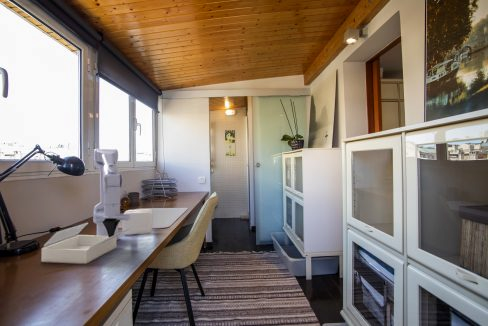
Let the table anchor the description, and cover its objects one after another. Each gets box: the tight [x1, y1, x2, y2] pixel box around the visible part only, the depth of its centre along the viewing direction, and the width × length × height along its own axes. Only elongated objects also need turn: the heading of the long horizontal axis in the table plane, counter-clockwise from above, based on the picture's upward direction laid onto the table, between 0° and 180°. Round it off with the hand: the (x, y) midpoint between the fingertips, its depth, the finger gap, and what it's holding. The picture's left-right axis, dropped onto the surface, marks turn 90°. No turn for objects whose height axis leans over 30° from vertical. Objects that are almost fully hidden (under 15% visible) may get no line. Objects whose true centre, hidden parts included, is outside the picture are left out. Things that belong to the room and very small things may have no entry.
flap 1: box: [43, 222, 89, 247], centre depth 101 cm, size 16×7×1 cm
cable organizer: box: [121, 208, 154, 236], centre depth 133 cm, size 15×11×12 cm
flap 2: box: [89, 228, 130, 249], centre depth 99 cm, size 16×7×1 cm, turn 174°
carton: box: [40, 234, 117, 265], centre depth 100 cm, size 18×18×5 cm
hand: (111, 237), depth 99 cm, fingers closed, pressing on flap 2
